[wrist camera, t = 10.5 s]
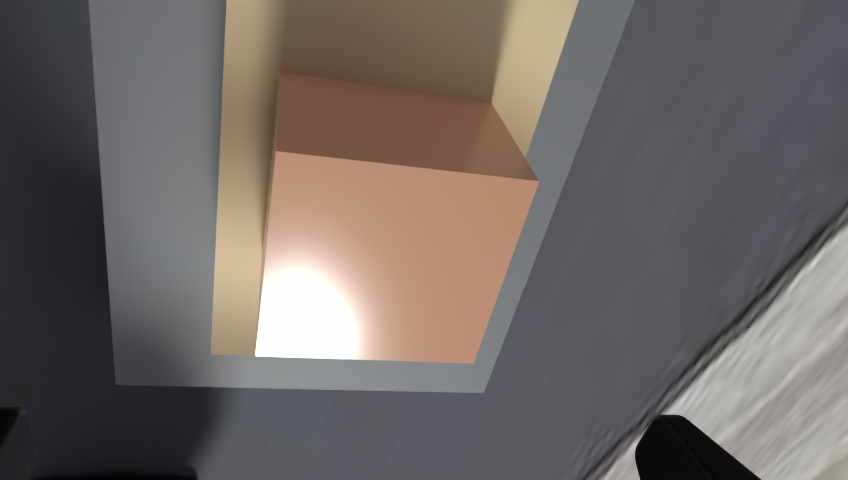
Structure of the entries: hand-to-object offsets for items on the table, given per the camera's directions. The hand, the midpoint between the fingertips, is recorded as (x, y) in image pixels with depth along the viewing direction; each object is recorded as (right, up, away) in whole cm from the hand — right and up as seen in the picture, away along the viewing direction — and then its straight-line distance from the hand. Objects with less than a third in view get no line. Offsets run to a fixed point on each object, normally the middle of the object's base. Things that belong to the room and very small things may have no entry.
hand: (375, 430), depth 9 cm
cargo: (0, +4, +4) cm, 5 cm away
